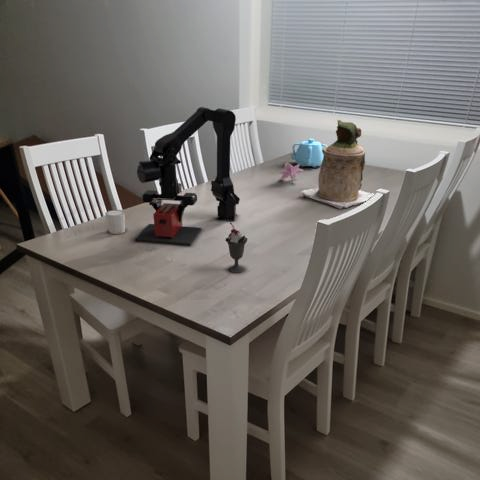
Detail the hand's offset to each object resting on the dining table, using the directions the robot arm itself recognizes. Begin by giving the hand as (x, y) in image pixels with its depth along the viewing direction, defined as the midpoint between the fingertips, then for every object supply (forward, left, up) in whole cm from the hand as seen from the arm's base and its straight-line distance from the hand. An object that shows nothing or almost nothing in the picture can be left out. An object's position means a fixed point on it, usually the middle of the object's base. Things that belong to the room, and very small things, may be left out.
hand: (171, 220), depth 173 cm
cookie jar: (-60, -54, -5) cm, 81 cm away
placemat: (0, +4, -4) cm, 6 cm away
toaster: (0, +3, -3) cm, 4 cm away
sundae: (-29, +26, -5) cm, 39 cm away
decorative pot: (-44, -108, -5) cm, 117 cm away
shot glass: (+20, +3, -5) cm, 21 cm away
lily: (-37, -74, -5) cm, 83 cm away
